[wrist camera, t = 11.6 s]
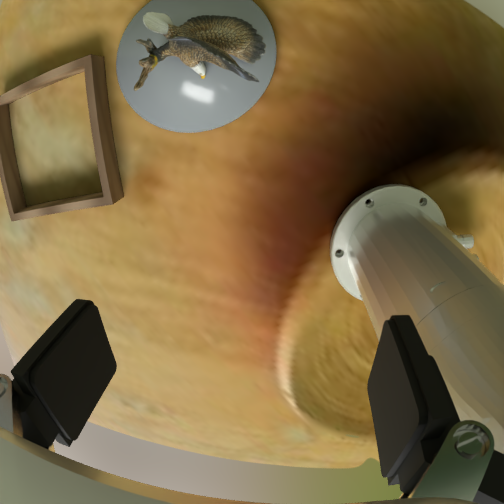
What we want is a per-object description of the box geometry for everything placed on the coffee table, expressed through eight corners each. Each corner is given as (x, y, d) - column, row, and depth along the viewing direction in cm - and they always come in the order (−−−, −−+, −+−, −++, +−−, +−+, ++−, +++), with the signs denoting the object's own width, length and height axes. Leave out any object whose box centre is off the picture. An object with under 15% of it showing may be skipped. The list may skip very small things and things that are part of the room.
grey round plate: (267, -22, 20) (267, -26, 19) (283, 123, 26) (283, 123, 25) (117, 8, 21) (112, 6, 20) (130, 142, 27) (125, 144, 26)
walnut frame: (103, 57, 23) (90, 54, 21) (123, 196, 29) (112, 204, 27) (3, 100, 25) (-11, 102, 22) (24, 213, 31) (11, 221, 28)
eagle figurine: (157, 116, 24) (265, 106, 22) (110, 68, 17) (240, 41, 15) (175, 50, 25) (271, 37, 23) (140, 0, 18) (252, -25, 16)
